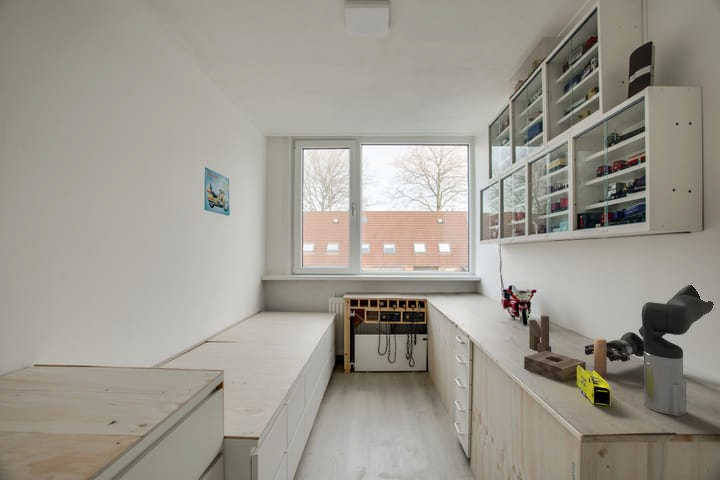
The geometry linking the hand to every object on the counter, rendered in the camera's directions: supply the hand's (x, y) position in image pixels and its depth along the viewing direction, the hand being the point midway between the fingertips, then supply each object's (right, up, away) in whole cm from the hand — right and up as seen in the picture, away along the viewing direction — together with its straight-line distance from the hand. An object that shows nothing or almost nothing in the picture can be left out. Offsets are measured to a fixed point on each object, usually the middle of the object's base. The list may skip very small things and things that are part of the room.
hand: (597, 355), depth 131 cm
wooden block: (-6, -9, +31) cm, 33 cm away
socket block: (-15, -8, +4) cm, 18 cm away
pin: (+2, -8, +1) cm, 8 cm away
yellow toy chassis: (-15, -8, -18) cm, 25 cm away
